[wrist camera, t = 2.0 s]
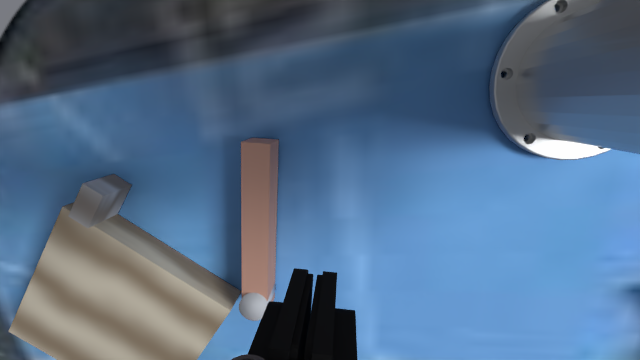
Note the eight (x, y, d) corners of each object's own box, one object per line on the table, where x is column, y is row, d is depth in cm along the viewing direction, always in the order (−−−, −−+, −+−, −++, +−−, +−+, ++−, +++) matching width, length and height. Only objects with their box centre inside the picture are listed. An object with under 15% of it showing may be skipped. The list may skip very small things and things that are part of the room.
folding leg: (275, 298, 31) (266, 322, 28) (250, 295, 31) (239, 318, 28) (279, 139, 27) (270, 144, 23) (251, 137, 27) (237, 142, 24)
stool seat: (103, 166, 29) (70, 175, 26) (258, 265, 31) (247, 286, 27) (37, 312, 35) (2, 335, 31) (172, 391, 36) (153, 422, 32)
